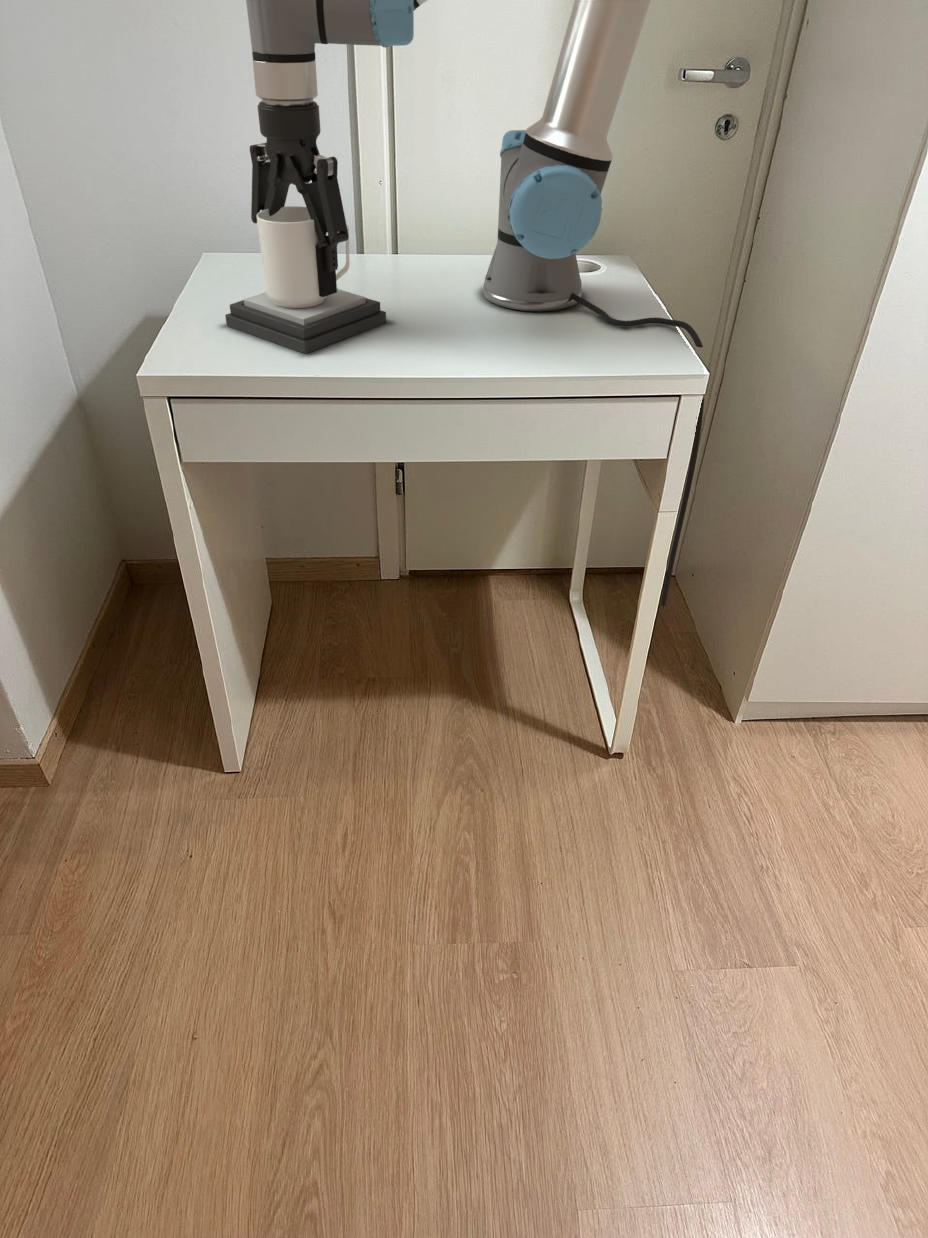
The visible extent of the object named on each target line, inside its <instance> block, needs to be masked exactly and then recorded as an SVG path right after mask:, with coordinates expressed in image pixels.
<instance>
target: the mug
mask: <svg viewBox="0 0 928 1238" xmlns="http://www.w3.org/2000/svg"><path fill="white" fill-rule="evenodd" d="M256 217H257V223H256V224H257V232H258V241H259V248H260V257H261V266H262V273H263V275H262V276H263V281H264V292H266V294H267V296H268V297H269V298H270V299H271V300H272V301H273V302H274V303H275V304H276V305H278V306H282V307H287V308H306V307H312V306H316V305H319V304H321V303H322V302H324V300H325V299H326V298H327V296H325V297H321V296H319V285H318V273H317V261H316V249H315V246H316V244H318V243H320V242H319V239H318V237H317V234H316V231H315V227H314V220H311V218H310V215H309V212H308V210H307V207H306V206H298V205H297V206H296V205H295V206H293V205H292V206H289V205H288V206H284V207H282V208H281V209H280V210H279V211H278V212H277V213H275V214H274V215H272V216H269V209H266V210H263V211H262V210H260V212H259V213H258V214H257V216H256ZM347 230H348V235H349V236H350V226H349V225H347ZM326 235H328V232H327V233H326ZM349 269H350V237H349V238H348V240H347V241H345V265H343V267H342V268H340V270H339V271H338V272H336V282H337V281H338V280H339V279H340V278H342V277H343V276H344V275H345V274H346V273H347V272H348V271H349Z"/></svg>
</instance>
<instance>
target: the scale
mask: <svg viewBox="0 0 928 1238" xmlns="http://www.w3.org/2000/svg"><path fill="white" fill-rule="evenodd" d="M229 311H230V312H229V313H226V314H225V315H224V316H225V323H226V326H227V327H229V328H231V329H235V330H237V331H241V332H243V333H246V334H249V335H252V336H254V337H257V338H259V339H262V340H266V341H268V342H271V343H274V344H277V345H280V346H282V347H285V348H288V349H291V350H293V351H295V352H299V353H302V354H304V355H307V354H310V353H312V352H314V351H317V350H320V349H322V348H325V347H327V346H330V345H333V344H335V343H338V342H341V341H343V340H346V339H348V338H351V337H353V336H355V335H359V334H360V333H363V332H365V331H368V330H371V329H374V328H376V327H379V326H381V325H384V324H386V323H387V312H386V311H385V310H381V302H380V301H378V300H375V299H371V298H368V297H366V303H365V304H363V305H360V306H357V307H354V308H352V309H349V310H346V311H343V312H340V313H338V314H335V315H332V316H329V317H327V318H324V319H321V320H318V321H316V322H313V323H310V324H307V325H305V326H304V325H301V324H298V323H295V322H292V321H289V320H286V319H283V318H280V317H277V316H274V315H271V314H268V313H265V312H262V311H259V310H256V309H253V308H250V307H247V306H244V299H243V300H239V301H236V302H233V303H230V304H229Z"/></svg>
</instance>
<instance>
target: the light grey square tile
mask: <svg viewBox="0 0 928 1238" xmlns="http://www.w3.org/2000/svg"><path fill="white" fill-rule="evenodd" d="M366 298H367V297H366V296H364V295H360V294H356V293H353V292H350V291H347V290H343V289H340V288H337V293H334V294H331V295H328V296H327V298H326V299H325V300H324V302H322V303H321V304H319V305H316V306H312V307H306V308H287V307H282V306H278V305H276V304H275V303H274V302H273V301H272V300H271V299H270V298H269V297H268V296H267V294H266V291H264V292H261V293H259V294H255V295H252V296H249V297H246V298H243V300H244V306H247V307H250V308H253V309H256V310H259V311H262V312H265V313H268V314H271V315H274V316H277V317H280V318H283V319H286V320H289V321H292V322H295V323H298V324H301V325H304V326H305V325H307V324H310V323H313V322H316V321H318V320H321V319H324V318H327V317H329V316H332V315H335V314H338V313H340V312H343V311H346V310H349V309H352V308H354V307H357V306H360V305H363V304H365V303H366Z"/></svg>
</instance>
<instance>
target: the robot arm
mask: <svg viewBox="0 0 928 1238" xmlns="http://www.w3.org/2000/svg"><path fill="white" fill-rule="evenodd" d="M428 1H429V0H245V3H246V12H247V19H248V29H249V37H250V45H251V51H252V52H251V55H252V67H253V79H254V89H255V90H254V91H255V96H256V97H258V98H259V99H260V100H261V101H259V102H258V104H257V114H258V124H259V125H258V126H259V132H260V134H261V136H262V137H264V138H266V142H262V143H258V144H251V145H250V146H249V154H250V159H251V167H252V168H251V210H250V212H251V213H250V215H251V216H250V220H251V222H252V223H253V224H257V217H256V216H257V214H258V213H259V212H261V211H263V210H266V209H269V216H272V215H274V214H275V213H277V212H278V211H279V210H280V209H281V208H282V207H286V203H287V202H286V201H287V197H288V193H289V189H290V185H293V186H295V189H296V191H297V193H299V194H300V195H301V197H302V199H303V201H304V205H305V207H307V210H308V212H309V215H310V218H311V220H314V227H315V231H316V234H317V237H318V239H319V242H320V243H318V244H316V246H315V249H316V261H317V273H318V285H319V296H321V297H325V296H328V295H331V294H334V293H337V289H338V286H337V285H338V283H337V281H336V274H337V270H338V268H339V258H338V244H340V243H343V242H346V241H347V240H348V238H349V239H350V234H349V235H348V230H347V226H348V225H347V221H346V216H345V210H344V206H343V200H342V194H341V189H340V184H339V180H338V164H339V162H338V159H337V157H335V156H329V157H326V156H324V155H322V154H321V153H320V151H319V148H318V145H317V140H318V137H319V136H320V134H321V117H320V105H319V104H318V103H317V102H316V101H314V99H316V98H317V97H318V95H319V92H318V79H317V78H318V77H317V62H316V59H317V58H316V57H317V56H316V51H315V49H316V44H320V45H328V44H329V45H350V46H352V45H353V46H374V47H378V46H379V47H382V48H385V49H387V48H389V47H396V46H399V47H400V46H408V45H410V44H412V41H413V39H414V36H415V35H414V33H415V31H414V30H415V29H414V27H415V25H414V24H415V23H414V22H415V20H414V19H415V18H414V17H415V15H414V11H416V10H417V9H418V8H420V7H421V6H422V5H423V4H425V3H426V2H428ZM651 1H652V0H574V2H573V4H572V9H571V12H570V15H569V20H568V23H567V27H566V31H565V34H564V38H563V41H562V44H561V48H560V52H559V55H558V58H557V63H556V66H555V70H554V74H553V77H552V81H551V84H550V88H549V90H548V91H549V92H548V95H547V99H546V102H545V106H544V110H543V113H542V117H541V118H540V119H538V121H536V122H534V123H533V124H532V125H530V126H528V127H527V128H526V129H512V130H508V131H506V132H505V133H504V135H502V141H501V148H500V151H499V157H500V177H499V199H498V223H497V240H496V241H497V242H496V245H495V249H494V251H493V254H492V257H491V260H490V263H489V264H488V265H489V266H488V269H487V271H486V274H485V277H484V281H483V296H484V298H485V299H486V300H488V301H489V302H490V303H493V304H494V305H497V306H500V307H503V308H507V309H512V310H517V311H524V312H526V311H527V312H552V311H561V310H564V309H567V308H571V307H573V306H575V305H577V304H580V305H582V306H583V307H585V308H587V309H588V310H590V311H592V312H594V313H596V314H598V315H599V316H600V317H601V318H602V319H603V320H604V321H605V322H606V323H608V324H609V325H612V326H615V327H621V328H622V327H623V328H625V327H626V328H627V327H629V328H630V327H639V326H643V325H651V324H653V325H654V324H655V325H657V324H659V325H664V326H669V327H670V326H671V327H678V328H681V329H683V330H685V331H686V332H687V333H688V334H689V336H690V337H691V339H692V341H693V343H694V345H695V347H696V348H704V346H703V343H702V340H701V339H700V337H699V335H698V333H697V331H696V330H695V328H693V326H691V325H690V324H689V323H687V322H685V321H682V320H677V319H670V318H664V317H643V318H639V319H638V318H637V319H632V320H631V319H630V320H623V319H616V318H613V317H611V316H610V315H609V314H608V313H607V312H606V311H604V310H603V309H602V308H600V307H599V306H596V305H595V304H593V303H591V302H590V301H588V300H587V299H585V298H583V297H582V291H583V288H582V286H583V283H582V279H581V275H580V268H579V264H578V259H577V254H576V253H578V252H579V251H581V250H582V249H584V248H585V247H586V246H587V245H588V244H589V243H590V241H592V239H593V237H594V236H595V234H596V233H597V231H598V228H599V226H600V222H601V219H602V211H603V207H602V204H603V199H602V191H603V189H604V185H605V182H606V179H607V176H608V174H609V170H610V167H611V164H612V160H613V156H614V155H613V153H612V151H611V148H610V146H609V143H608V135H609V131H610V128H611V125H612V122H613V118H614V116H615V113H616V110H617V106H618V103H619V100H620V97H621V94H622V91H623V88H624V84H625V81H626V79H627V75H628V73H629V68H630V66H631V63H632V60H633V56H634V54H635V50H636V47H637V43H638V41H639V38H640V36H641V32H642V27H643V26H644V23H645V19H646V16H647V13H648V11H649V6H650V4H651ZM326 233H327V234H326ZM702 399H703V400H702ZM702 399H701V400H702V403H701V408H700V413H699V417H698V422H697V426H696V425H695V427H696V432H695V431H694V435H695V436H693V443H692V449H691V455H690V461H689V465H688V471H687V477H686V480H685V481H686V482H685V486H684V491H683V495H682V500H681V504H680V505H681V506H680V509H679V515H678V518H677V523H676V528H675V531H674V537H673V541H672V546H671V551H670V554H669V559H668V564H667V569H666V574H665V578H664V583H663V589H662V595H661V601H660V606H661V607H663V608H664V607H666V606H667V600H668V594H669V589H670V584H671V579H672V574H673V569H674V565H675V561H676V555H677V551H678V547H679V543H680V537H681V534H682V528H683V524H684V519H685V516H686V511H687V507H688V503H689V498H690V493H691V488H692V484H693V480H694V474H695V470H696V463H697V458H698V453H699V447H700V441H701V433H702V426H703V419H704V418H703V417H704V406H705V398H704V397H703V398H702Z"/></svg>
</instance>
